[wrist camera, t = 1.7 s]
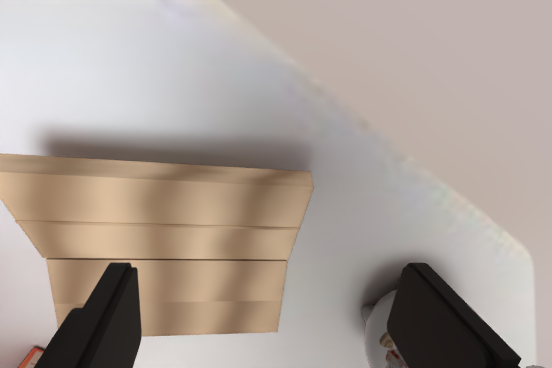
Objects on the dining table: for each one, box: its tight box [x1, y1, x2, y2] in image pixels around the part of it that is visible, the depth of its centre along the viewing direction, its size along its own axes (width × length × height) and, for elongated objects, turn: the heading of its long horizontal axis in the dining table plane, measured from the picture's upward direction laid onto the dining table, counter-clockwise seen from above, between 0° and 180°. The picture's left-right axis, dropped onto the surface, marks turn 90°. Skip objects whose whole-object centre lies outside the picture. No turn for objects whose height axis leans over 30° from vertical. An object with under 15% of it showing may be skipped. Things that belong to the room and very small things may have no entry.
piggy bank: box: [362, 278, 481, 368], centre depth 29 cm, size 11×15×12 cm
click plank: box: [0, 153, 314, 260], centre depth 23 cm, size 20×10×2 cm, turn 84°
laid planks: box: [46, 258, 287, 337], centre depth 28 cm, size 20×9×2 cm, turn 84°
